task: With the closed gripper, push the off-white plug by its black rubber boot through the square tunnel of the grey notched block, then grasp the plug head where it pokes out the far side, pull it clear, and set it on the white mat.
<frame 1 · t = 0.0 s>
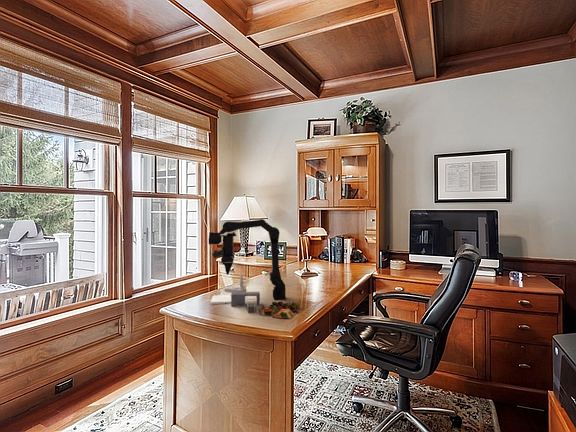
hand: (228, 273, 190), 15 cm above the table, fingers open, 9 cm apart
white mat: (222, 300, 189), on the table
plug: (251, 309, 172), on the table
electronic device: (235, 292, 209), on the table
grey notched block: (250, 304, 181), on the table
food: (281, 312, 169), on the table
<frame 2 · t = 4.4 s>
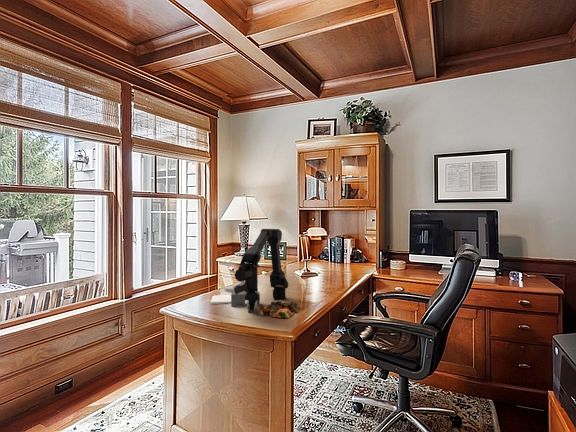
hand: (251, 310, 166), 1 cm above the table, fingers closed
plug: (251, 309, 172), on the table, touching gripper
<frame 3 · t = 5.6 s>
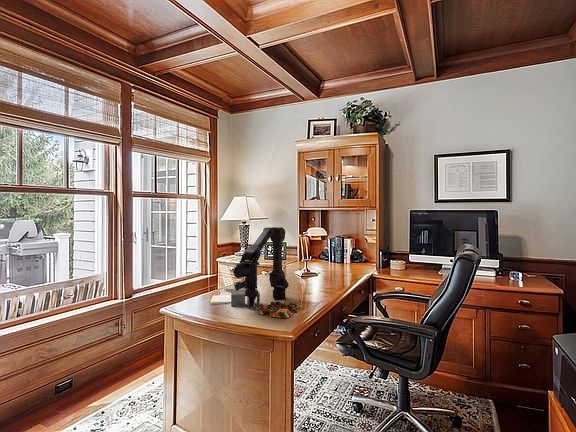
hand: (251, 306, 172), 1 cm above the table, fingers closed
plug: (250, 305, 179), on the table, touching gripper
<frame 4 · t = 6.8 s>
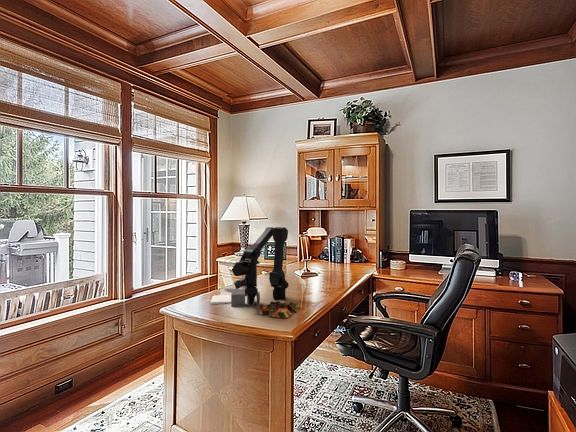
hand: (251, 304, 176), 2 cm above the table, fingers closed
plug: (250, 303, 182), on the table, touching gripper
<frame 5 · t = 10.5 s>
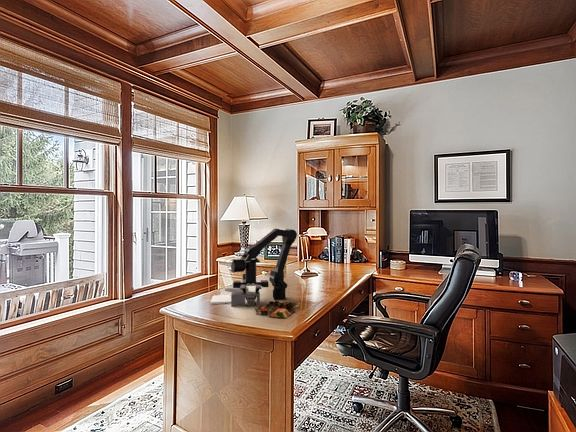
hand: (250, 300, 186), 1 cm above the table, fingers closed on plug, 4 cm apart
plug: (250, 303, 183), on the table, touching gripper
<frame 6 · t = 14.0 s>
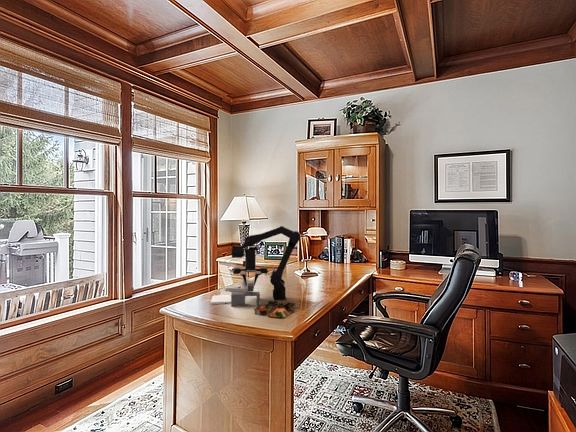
hand: (250, 285, 195), 7 cm above the table, fingers closed on plug, 4 cm apart
plug: (250, 289, 191), point 6 cm above the table, touching gripper
when the fingers open (3 cm above the table, at t = 17.4 s): plug drops 1 cm, resting on white mat.
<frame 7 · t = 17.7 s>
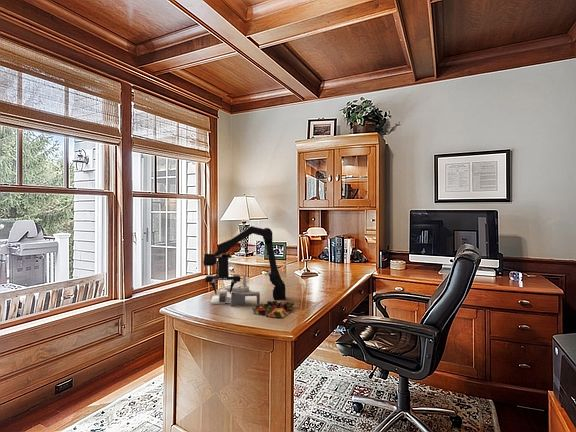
hand: (223, 294, 191), 3 cm above the table, fingers open, 7 cm apart
plug: (222, 299, 187), point 1 cm above the table, touching white mat
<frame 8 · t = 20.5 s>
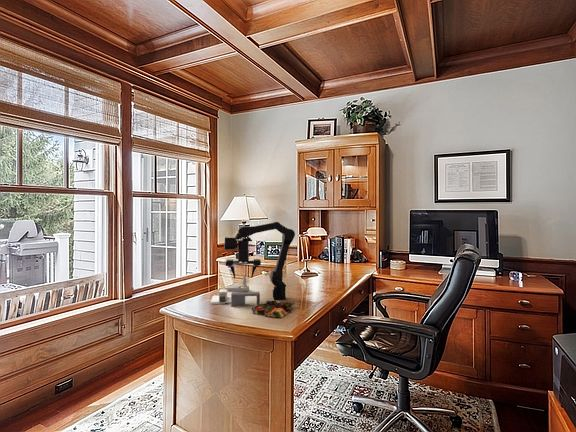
hand: (243, 278, 189), 12 cm above the table, fingers open, 9 cm apart
at the end: plug inside the target area on the white mat (1.5 cm from its centre), point 1.0 cm above the white mat's base; plug touching white mat; the gripper is holding nothing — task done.
